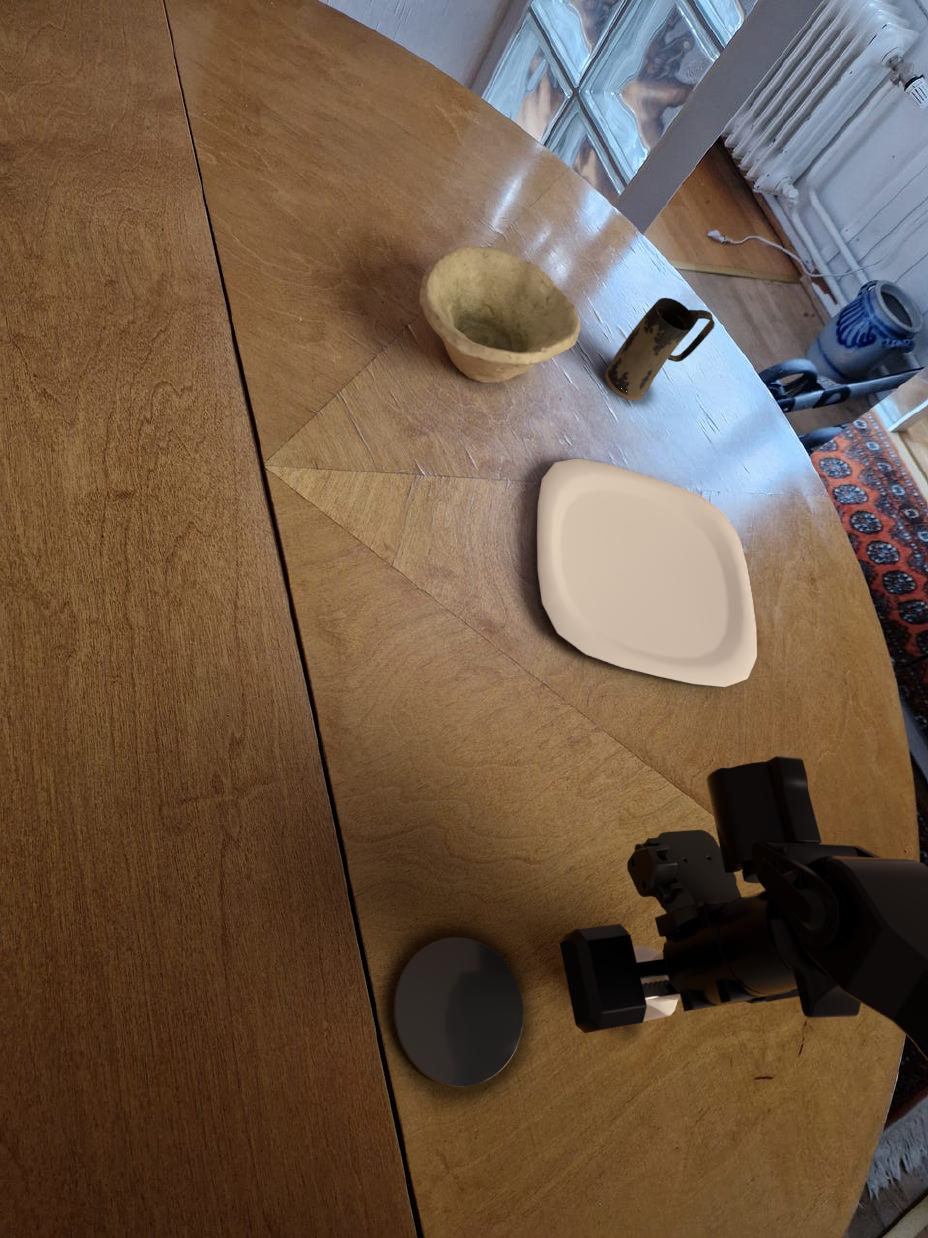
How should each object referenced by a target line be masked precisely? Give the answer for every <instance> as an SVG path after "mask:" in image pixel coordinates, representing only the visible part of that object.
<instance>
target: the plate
mask: <svg viewBox="0 0 928 1238" xmlns="http://www.w3.org/2000/svg"><path fill="white" fill-rule="evenodd" d="M748 569H749V568H748V564H747V560H746V556H745V553H744V550H743V546H742V541H741V538H740V535H739V534H738V532H737V530H735V528H734V526H733V524H732V522H731V521H730V520H729V518H728V516H727V515H726V513H725V512H724V511H722V510H721V509H720V508H719V507H717V506H716V505H715V504H713V503H712V502H710V501H709V500H708V499H707V498H705V497H704V496H702V495H701V494H698V493H696V492H694V491H692V490H689V489H687V488H684V487H682V486H680V485H678V484H675V483H673V482H668V481H666V480H662V479H658V478H656V477H653V476H650V475H647V474H643V473H640V472H637V471H634V470H630V469H627V468H624V467H620V466H616V465H613V464H610V463H604V462H601V461H600V462H599V461H594V460H589V459H586V458H585V459H584V458H574V459H567V460H560V461H554V463H553V464H552V465H551V467H550V469H548V470H547V472H546V473H545V474H544V476H543V477H542V478H541V480H540V485H539V492H538V498H537V505H536V573H537V581H538V589H539V596H540V603H541V604H540V605H541V606H542V608H543V611H544V612H545V614H546V616H547V618H548V620H549V622H550V624H551V627H552V628H553V630H554V632H555V634H556V635H557V636H558V637H560V638H562V640H564V641H565V642H567V643H568V644H569V645H571V646H572V647H573V648H575V649H576V650H577V651H578V652H580V653H581V654H583V655H584V656H587V657H589V658H592V659H595V660H598V661H601V662H603V663H606V664H609V665H611V666H614V667H617V668H620V669H624V670H628V671H631V672H635V673H640V674H644V675H646V676H647V675H648V676H651V677H655V678H656V677H657V678H661V679H665V680H670V681H674V682H679V683H682V684H683V683H684V684H687V685H693V686H702V687H703V686H704V687H712V688H720V689H721V688H722V689H724V688H727V687H729V686H732V685H736V684H738V683H742V682H744V681H747V680H748V679H749V677H750V675H751V672H752V670H753V667H754V666H755V664H756V661H757V658H758V648H757V646H758V644H757V642H758V641H757V623H756V622H757V621H756V616H755V615H756V614H755V607H754V601H753V594H752V593H753V592H752V588H751V582H750V581H751V580H750V575H749V570H748Z"/></svg>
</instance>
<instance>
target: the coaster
mask: <svg viewBox="0 0 928 1238" xmlns="http://www.w3.org/2000/svg"><path fill="white" fill-rule="evenodd" d="M519 986H520V985H519V983H518V981H517V979H516V977H515V974H514V972H513V971H512V969H511V967H510V966H509V965H508V963H507V962H506V961H505V960H504V958H503V957H501V956H500V955H499V954H498V952H496V951H495V950H494V949H493V948H491V947H489V946H488V945H487V944H485V943H483V942H481V941H479V940H475V939H472V938H467V937H462V936H452V937H445V938H441V939H438V940H435V941H433V942H431V943H429V944H427V945H425V946H423V948H421V949H420V950H418V951H417V952H416V953H415V954H414V955H413V956H412V957H411V958H410V959H409V961H408V962H407V963H406V964H405V966H404V968H403V969H402V971H401V973H400V976H399V977H398V981H397V983H396V987H395V991H394V995H393V1003H392V1005H393V1006H392V1015H393V1016H392V1017H393V1024H394V1030H395V1033H396V1037H397V1040H398V1042H399V1044H400V1046H401V1049H402V1051H403V1052H404V1054H405V1055H406V1057H407V1059H408V1060H409V1061H410V1062H411V1064H412V1065H413V1066H414V1067H415V1068H416V1069H417V1071H419V1072H420V1073H422V1075H424V1076H425V1077H426V1078H428V1079H430V1080H432V1081H434V1082H436V1083H438V1084H441V1085H443V1086H449V1087H453V1088H454V1087H455V1088H466V1087H471V1086H472V1087H473V1086H476V1085H477V1086H478V1085H480V1084H483V1083H485V1082H487V1081H489V1080H491V1079H492V1078H494V1077H495V1076H497V1075H498V1074H499V1073H500V1072H501V1071H503V1069H504V1068H505V1067H506V1066H507V1065H508V1063H510V1061H511V1060H512V1058H513V1056H514V1054H515V1053H516V1050H517V1048H518V1046H519V1044H520V1040H521V1037H522V1032H523V1027H524V1018H525V1017H524V1016H525V1015H524V1002H523V997H522V993H521V989H520V987H519Z"/></svg>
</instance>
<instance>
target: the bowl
mask: <svg viewBox="0 0 928 1238" xmlns="http://www.w3.org/2000/svg"><path fill="white" fill-rule="evenodd" d="M418 299H419V305H420V307H421V309H422V311H423V315H424V316H425V319H426V320H427V322H428V323H429V325H430V326H431V328H432V330H433V331H434V332H435V333H436V334H437V335H438V336H439V337H440V338H441V340H442V342H443V344H444V348H445V351H446V352H447V355H448V357H449V359H450V360H451V362H452V363H453V364H454V365H455V367H456V368H458V370H459V371H460V373H463V374H464V376H466V377H467V378H469V379H471V380H473V381H476V382H479V383H483V384H484V383H485V384H490V383H491V384H492V383H493V384H494V383H499V382H505V381H507V380H509V379H512V378H514V377H516V376H519V375H522V374H523V373H525V372H527V371H528V370H530V369H531V368H533V367H534V366H535V365H537V364H540V363H544V362H546V361H549V360H550V359H552V358H554V357H557V356H558V355H560V354H561V353H563V352H566V351H568V350H570V349H571V348H572V347H574V346H575V345H576V342H577V341H578V338H579V334H580V332H581V322H580V318H579V315H578V314H579V313H578V312H577V309H576V307H575V305H574V304H573V302H572V300H571V299H570V298H569V297H568V296H567V295H566V294H564V292H563V291H562V290H561V289H560V288H559V287H558V286H557V284H556V283H555V282H554V280H553V279H552V278H551V277H550V276H549V275H548V274H547V273H546V272H545V271H543V269H542V268H541V267H540V266H538V265H537V264H535V263H534V262H531V261H526V260H523V259H521V258H520V257H518V256H517V255H514V254H511V253H510V252H507V251H505V250H501V249H498V248H494V247H485V246H463V247H458V248H455V249H453V250H451V251H449V252H447V253H445V254H443V255H442V256H440V257H439V258H437V259H436V260H435V261H433V262H432V263H431V264H430V265H429V266H428V267H427V270H426V271H425V273H423V277H422V282H421V286H420V289H419V298H418Z"/></svg>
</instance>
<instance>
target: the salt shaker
mask: <svg viewBox="0 0 928 1238" xmlns="http://www.w3.org/2000/svg"><path fill="white" fill-rule="evenodd" d="M633 948H634V952H635V957H636V961H637V962H645V961H652V960H659V959H663V952H660V951H658V950H656V949H654V948H652V947H649V946H647V945H636V946H633ZM662 980H663V982H664V980H669V978H668V976H663V977H657V978H650V979H643V980H641V982H642V983H643V985H644V983H648V984H649V983H650V982H653V984H654V982H655V981H658V983H659V981H662ZM679 1000H681V997H680V995H673V996H667V997H661V998H654V999H648V1000H646V1004H647V1008H646V1012H645V1017H644V1021H643V1023H644V1022H647V1021H652V1020H657V1019H662V1018H666V1017H670V1016H672V1015H673V1013H674V1012H675V1011H676V1009H677V1005H678V1001H679Z"/></svg>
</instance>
